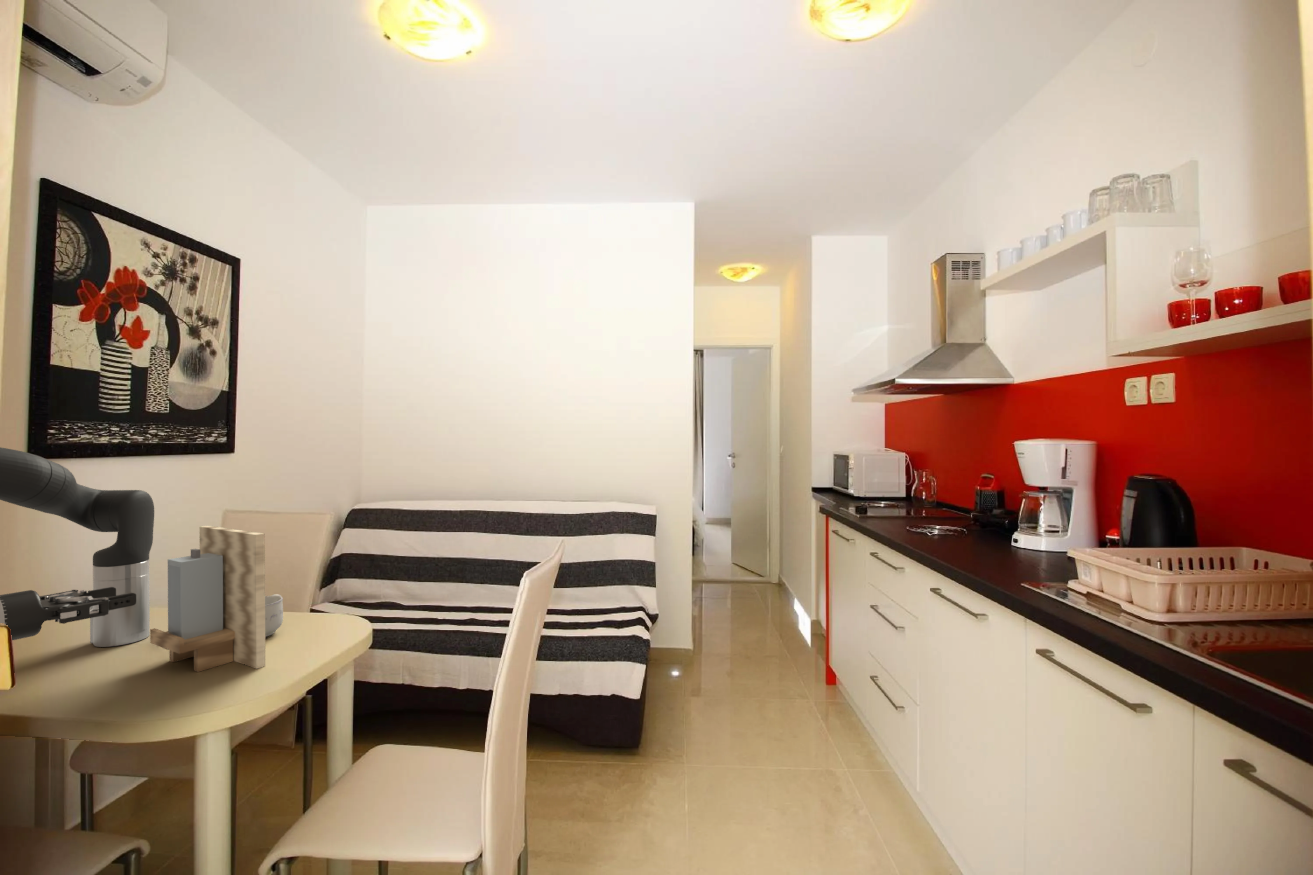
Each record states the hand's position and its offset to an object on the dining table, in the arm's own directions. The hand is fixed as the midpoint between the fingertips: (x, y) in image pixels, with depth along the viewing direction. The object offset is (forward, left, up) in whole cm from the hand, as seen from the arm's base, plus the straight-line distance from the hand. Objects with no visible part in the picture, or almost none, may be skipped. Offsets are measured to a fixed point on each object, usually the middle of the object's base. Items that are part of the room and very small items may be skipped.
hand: (125, 595), depth 106 cm
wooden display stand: (+6, +10, -16) cm, 20 cm away
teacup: (+2, +27, -16) cm, 32 cm away
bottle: (+3, +10, -10) cm, 15 cm away
